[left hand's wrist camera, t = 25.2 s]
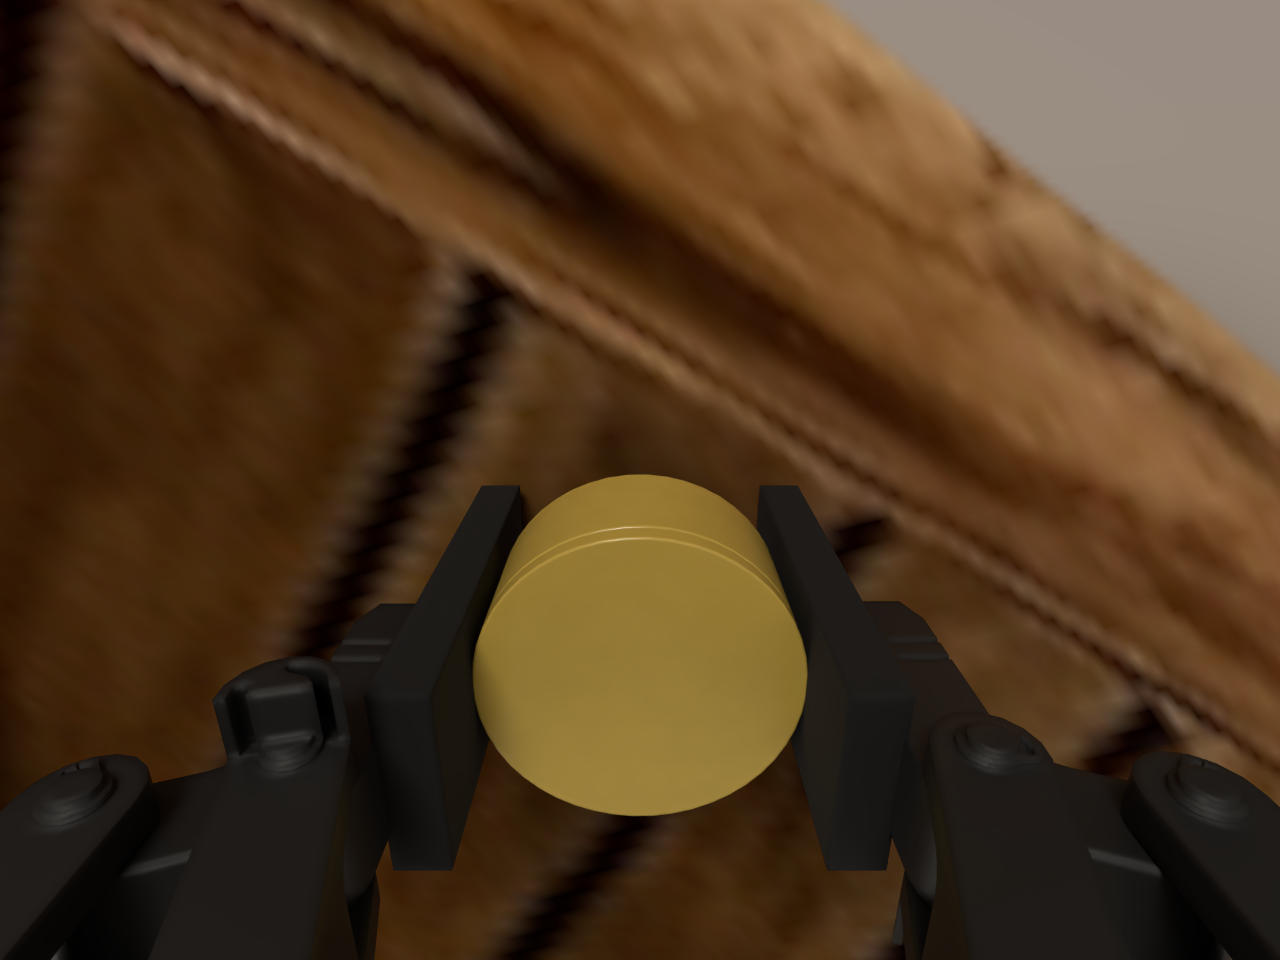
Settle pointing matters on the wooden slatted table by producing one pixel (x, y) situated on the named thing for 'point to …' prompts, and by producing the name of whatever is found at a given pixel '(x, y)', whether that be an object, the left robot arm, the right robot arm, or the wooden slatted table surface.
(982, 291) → the wooden slatted table surface
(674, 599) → the lid
